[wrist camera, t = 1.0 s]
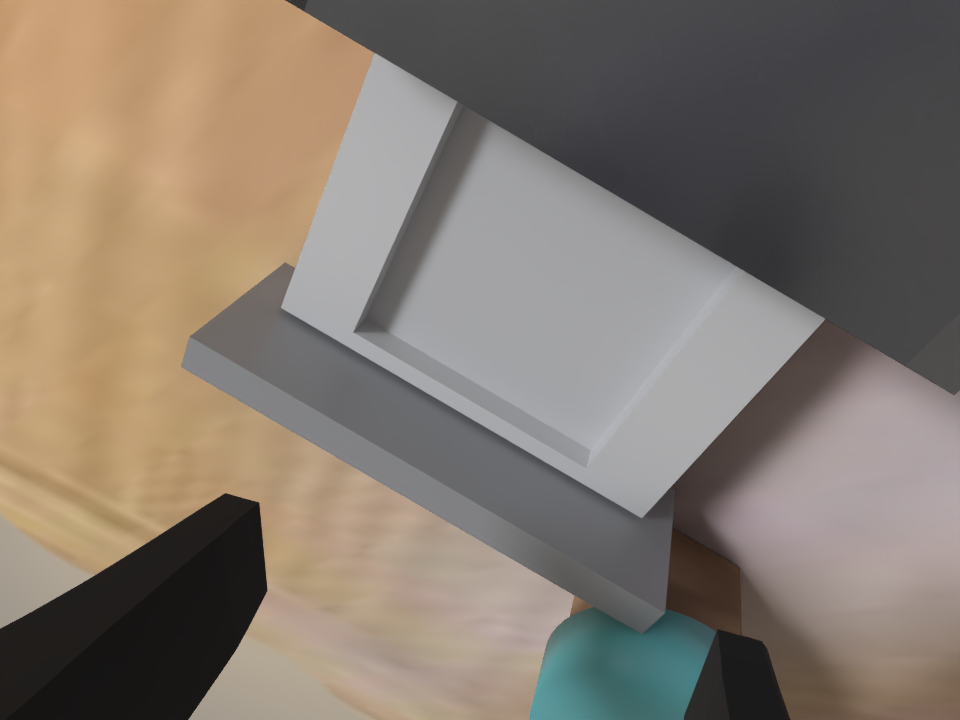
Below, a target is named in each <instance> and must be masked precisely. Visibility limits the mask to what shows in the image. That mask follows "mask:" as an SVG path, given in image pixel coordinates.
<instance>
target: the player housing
mask: <svg viewBox="0 0 960 720" xmlns="http://www.w3.org/2000/svg"><path fill="white" fill-rule="evenodd" d="M286 1H288V2H289V3H291V4H293V5H294V6H296V7H298V8H300V9H301V10H303V11H305V12H306V13H308V14H310V15H311V16H313V17H315V18H316V19H318V20H320V21H322V22H323V23H325V24H327V25H328V26H330V27H332V28H333V29H335V30H337V31H338V32H340V33H342V34H344V35H345V36H347V37H349V38H350V39H352V40H354V41H355V42H357V43H359V44H361V45H362V46H364V47H366V48H367V49H369V50H371V51H372V52H374V53H376V54H377V55H379V56H381V57H383V58H384V59H386V60H388V61H389V62H391V63H393V64H394V65H396V66H398V67H399V68H401V69H403V70H405V71H406V72H408V73H410V74H411V75H413V76H415V77H416V78H418V79H420V80H421V81H423V82H425V83H427V84H428V85H430V86H432V87H433V88H435V89H437V90H438V91H440V92H442V93H443V94H445V95H447V96H449V97H450V98H452V99H454V100H455V101H457V102H459V103H460V104H462V105H464V106H466V107H467V108H469V109H471V110H472V111H474V112H476V113H477V114H479V115H481V116H482V117H484V118H486V119H488V120H489V121H491V122H493V123H494V124H496V125H498V126H499V127H501V128H503V129H504V130H506V131H508V132H510V133H511V134H513V135H515V136H516V137H518V138H520V139H521V140H523V141H525V142H526V143H528V144H530V145H532V146H533V147H535V148H537V149H538V150H540V151H542V152H543V153H545V154H547V155H549V156H550V157H552V158H554V159H555V160H557V161H559V162H560V163H562V164H564V165H565V166H567V167H569V168H571V169H572V170H574V171H576V172H577V173H579V174H581V175H582V176H584V177H586V178H587V179H589V180H591V181H593V182H594V183H596V184H598V185H599V186H601V187H603V188H604V189H606V190H608V191H609V192H611V193H613V194H615V195H616V196H618V197H620V198H621V199H623V200H625V201H626V202H628V203H630V204H631V205H633V206H635V207H637V208H638V209H640V210H642V211H643V212H645V213H647V214H648V215H650V216H652V217H654V218H655V219H657V220H659V221H660V222H662V223H664V224H665V225H667V226H669V227H670V228H672V229H674V230H676V231H677V232H679V233H681V234H682V235H684V236H686V237H687V238H689V239H691V240H692V241H694V242H696V243H698V244H699V245H701V246H703V247H704V248H706V249H708V250H709V251H711V252H713V253H714V254H716V255H718V256H720V257H721V258H723V259H725V260H726V261H728V262H730V263H731V264H733V265H735V266H736V267H738V268H740V269H742V270H743V271H745V272H747V273H748V274H750V275H752V276H753V277H755V278H757V279H759V280H760V281H762V282H764V283H765V284H767V285H769V286H770V287H772V288H774V289H775V290H777V291H779V292H781V293H782V294H784V295H786V296H787V297H789V298H791V299H792V300H794V301H796V302H797V303H799V304H801V305H803V306H804V307H806V308H808V309H809V310H811V311H813V312H814V313H816V314H818V315H819V316H821V317H823V318H825V319H826V320H828V321H830V322H831V323H833V324H835V325H836V326H838V327H840V328H841V329H843V330H845V331H847V332H848V333H850V334H852V335H853V336H855V337H857V338H858V339H860V340H862V341H864V342H865V343H867V344H869V345H870V346H872V347H874V348H875V349H877V350H879V351H880V352H882V353H884V354H886V355H887V356H889V357H891V358H892V359H894V360H896V361H897V362H899V363H901V364H902V365H904V366H906V367H908V368H909V369H911V370H913V371H914V372H916V373H918V374H919V375H921V376H923V377H924V378H926V379H928V380H930V381H931V382H933V383H935V384H936V385H938V386H940V387H941V388H943V389H945V390H946V391H948V392H950V393H952V394H953V395H955V394H956V393H957V392H958V391H959V390H960V0H286Z"/></svg>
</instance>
